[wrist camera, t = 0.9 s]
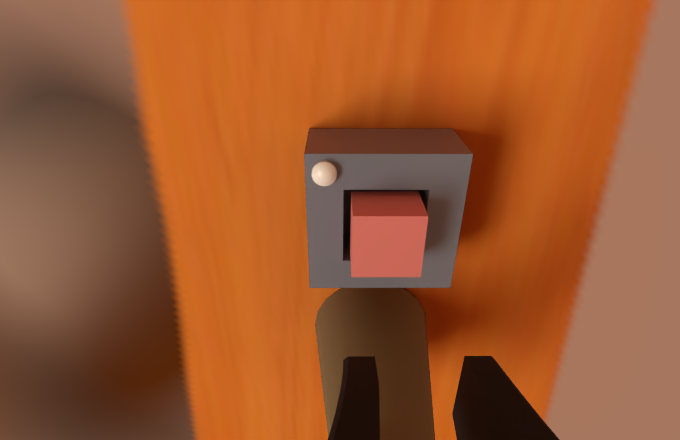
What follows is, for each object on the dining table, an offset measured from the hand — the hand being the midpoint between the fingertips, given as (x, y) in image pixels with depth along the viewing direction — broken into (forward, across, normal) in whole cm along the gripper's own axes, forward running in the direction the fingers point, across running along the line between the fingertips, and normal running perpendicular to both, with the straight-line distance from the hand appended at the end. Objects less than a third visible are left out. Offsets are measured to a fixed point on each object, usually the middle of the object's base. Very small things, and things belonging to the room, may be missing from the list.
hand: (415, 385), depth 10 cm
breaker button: (+8, 0, 0) cm, 8 cm away
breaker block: (+10, 0, 0) cm, 10 cm away
